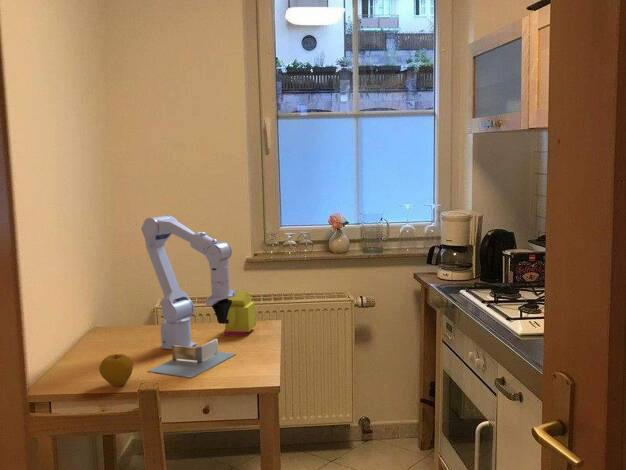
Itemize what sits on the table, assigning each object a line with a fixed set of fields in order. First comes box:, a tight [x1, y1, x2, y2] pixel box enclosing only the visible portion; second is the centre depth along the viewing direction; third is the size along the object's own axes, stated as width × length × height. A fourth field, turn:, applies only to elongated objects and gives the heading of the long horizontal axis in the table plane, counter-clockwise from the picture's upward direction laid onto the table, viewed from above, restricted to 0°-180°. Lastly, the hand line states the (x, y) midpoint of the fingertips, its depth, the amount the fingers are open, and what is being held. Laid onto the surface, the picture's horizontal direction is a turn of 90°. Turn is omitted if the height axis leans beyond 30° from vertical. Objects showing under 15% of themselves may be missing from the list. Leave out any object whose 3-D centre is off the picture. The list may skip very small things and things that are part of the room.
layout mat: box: [147, 351, 237, 379], centre depth 198 cm, size 16×23×1 cm
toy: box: [223, 290, 257, 337], centre depth 230 cm, size 13×10×15 cm
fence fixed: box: [195, 338, 219, 363], centre depth 201 cm, size 1×10×5 cm, turn 154°
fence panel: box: [171, 345, 197, 361], centre depth 199 cm, size 8×1×5 cm, turn 70°
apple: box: [98, 353, 134, 387], centre depth 180 cm, size 9×9×9 cm
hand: (222, 323), depth 205 cm, fingers closed
